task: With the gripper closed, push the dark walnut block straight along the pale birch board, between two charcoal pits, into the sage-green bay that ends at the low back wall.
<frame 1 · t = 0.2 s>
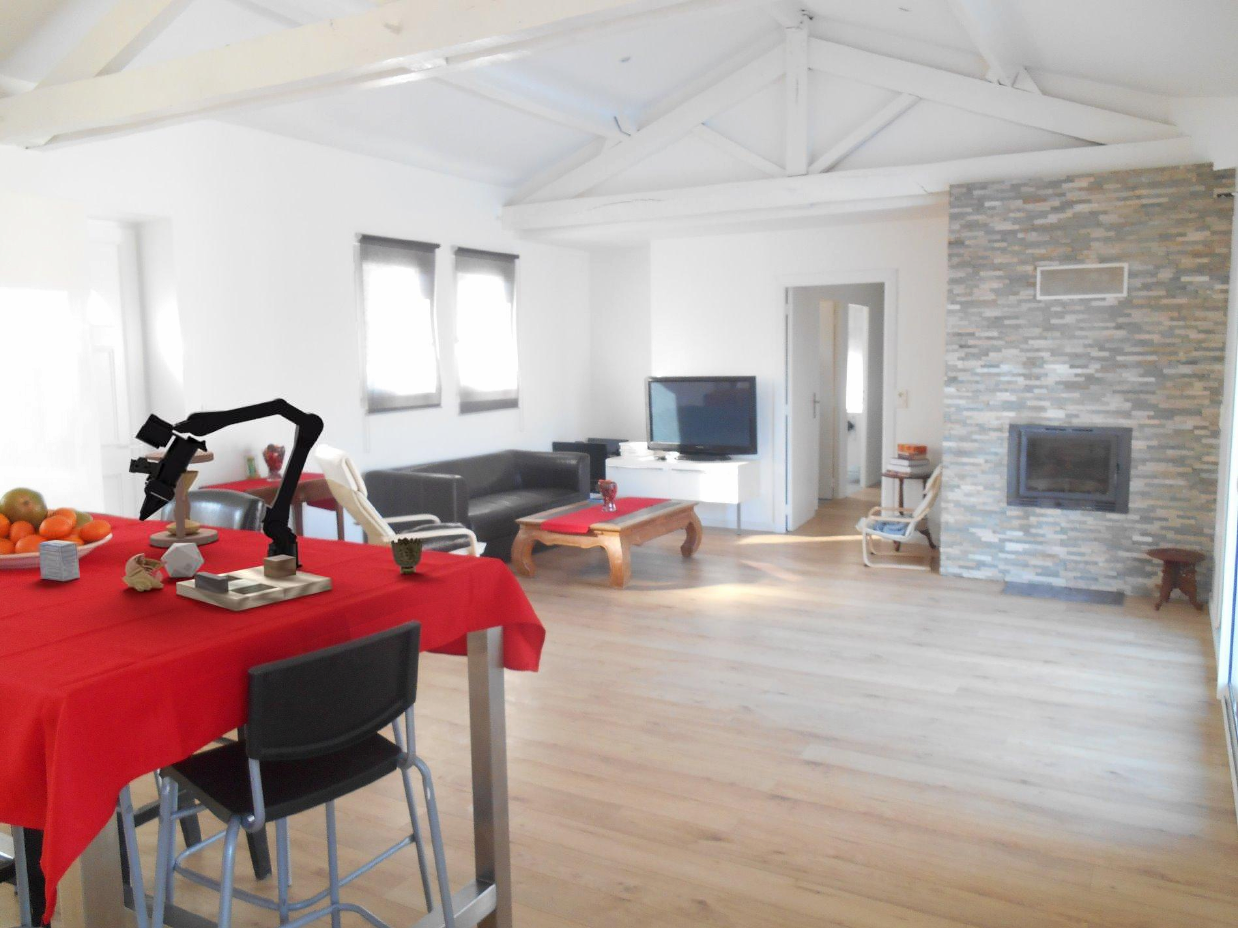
hand: (141, 517, 224), 15 cm above the table, tool tilted 30°, fingers open, 9 cm apart
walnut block: (280, 575, 219), point 2 cm above the table, touching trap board
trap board: (254, 591, 214), on the table
cup: (407, 573, 232), on the table
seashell: (143, 589, 218), on the table
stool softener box: (60, 579, 228), on the table
die: (183, 576, 230), on the table
hourglass: (184, 542, 273), on the table
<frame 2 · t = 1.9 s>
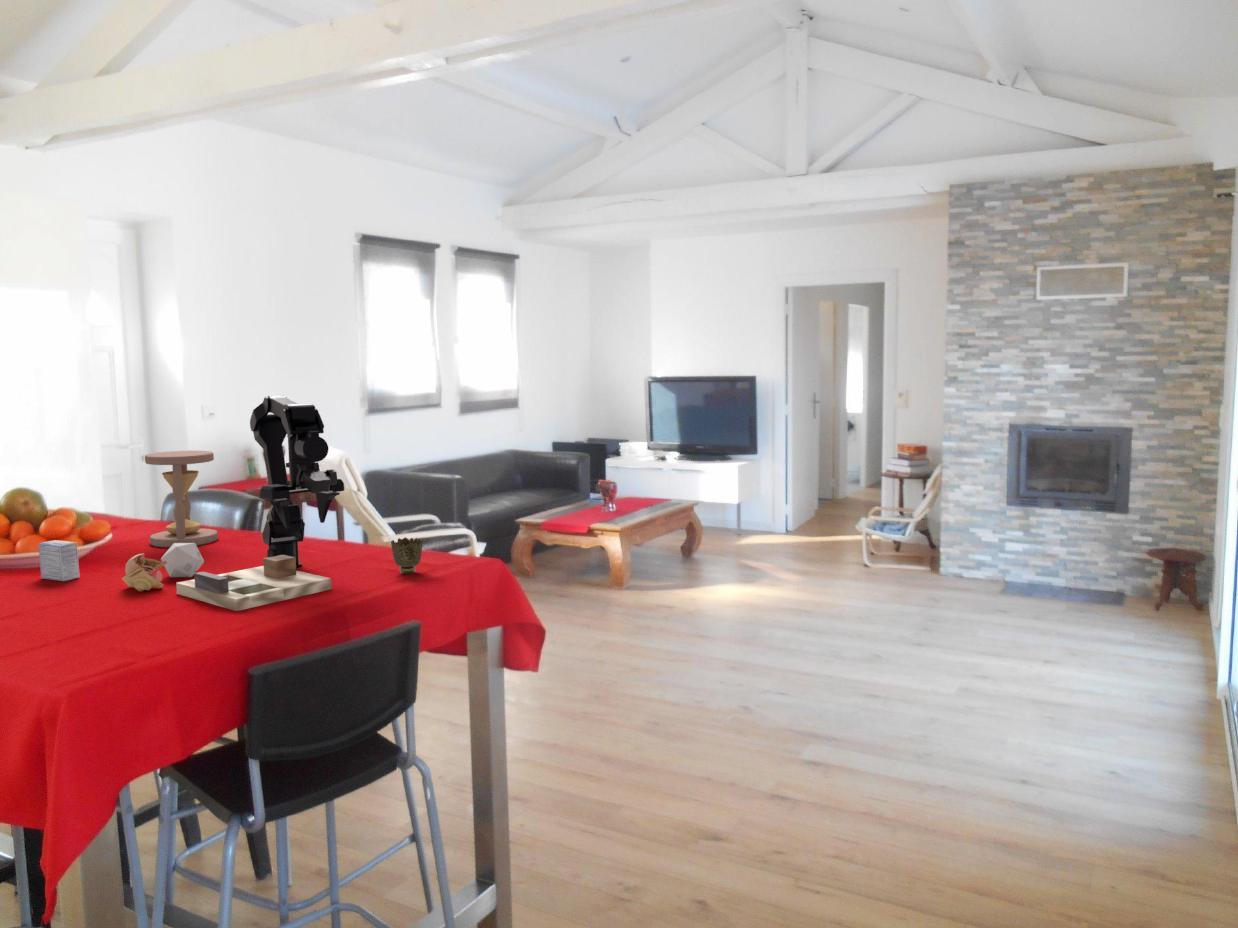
hand: (304, 525, 223), 13 cm above the table, tool pointing down, fingers open, 9 cm apart
nothing on the table moved.
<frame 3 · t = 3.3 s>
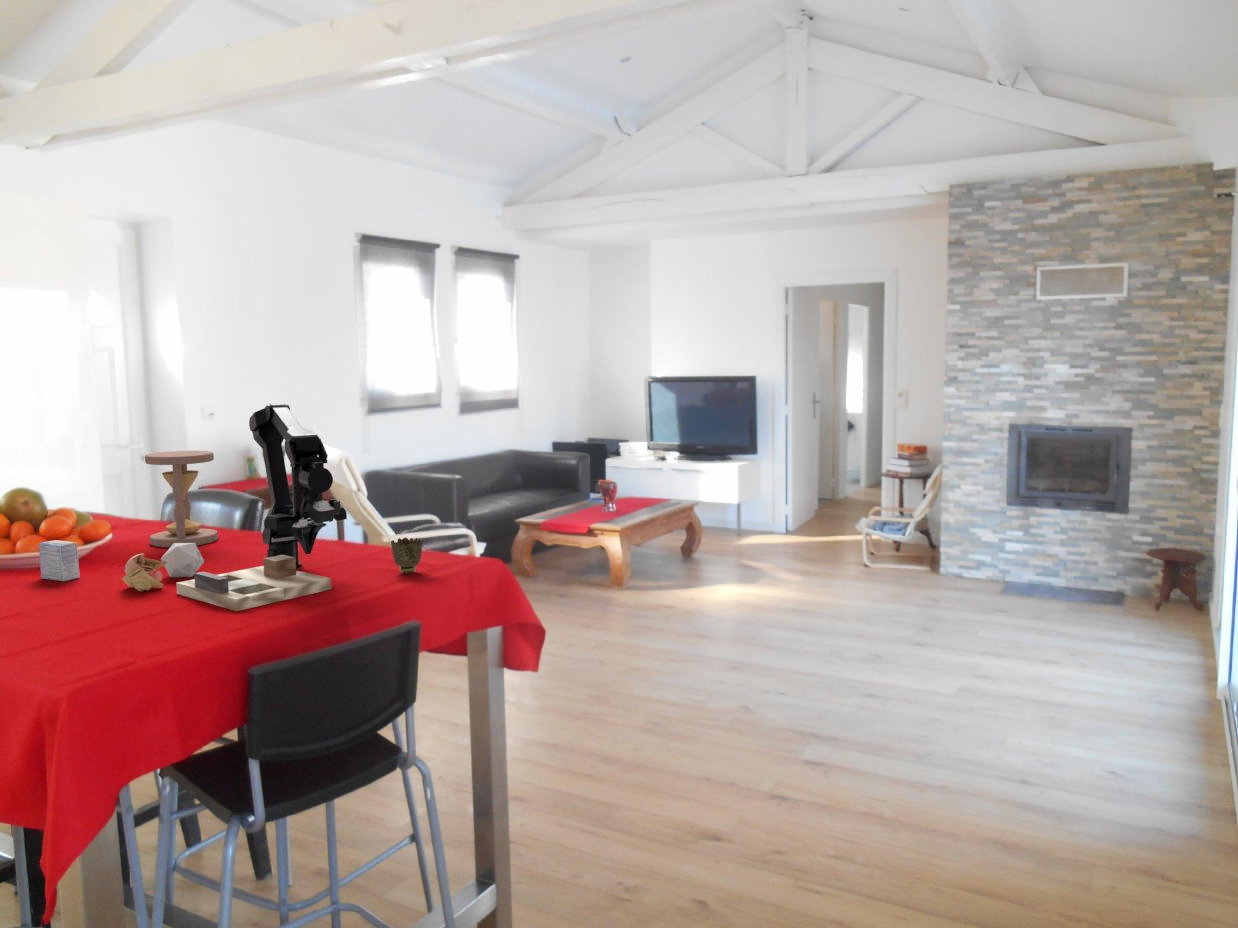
hand: (307, 554, 225), 6 cm above the table, tool pointing down, fingers closed
nothing on the table moved.
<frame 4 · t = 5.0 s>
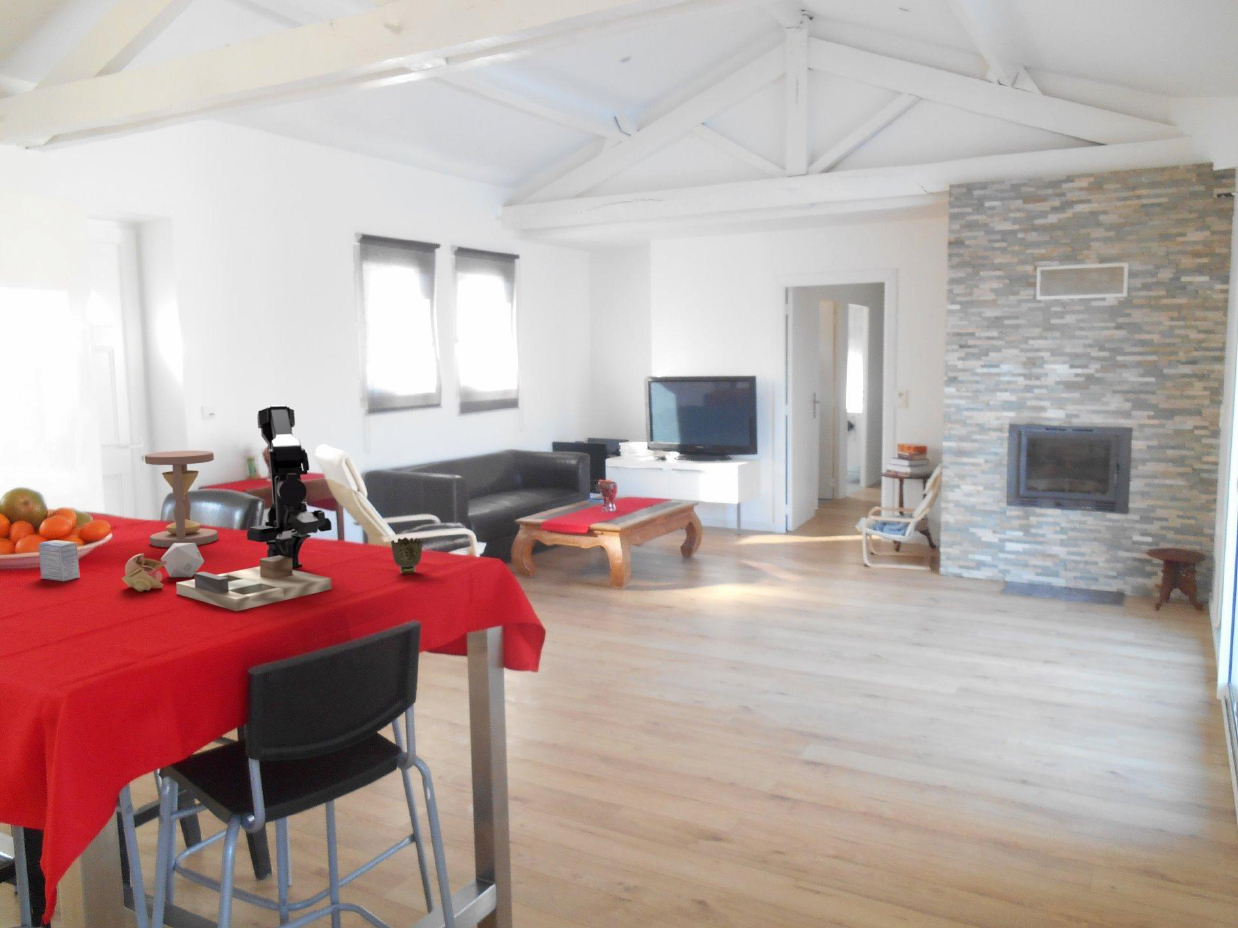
hand: (292, 565, 221), 4 cm above the table, tool pointing down, fingers closed
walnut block: (276, 575, 218), point 3 cm above the table, touching gripper, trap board
everything else where it was.
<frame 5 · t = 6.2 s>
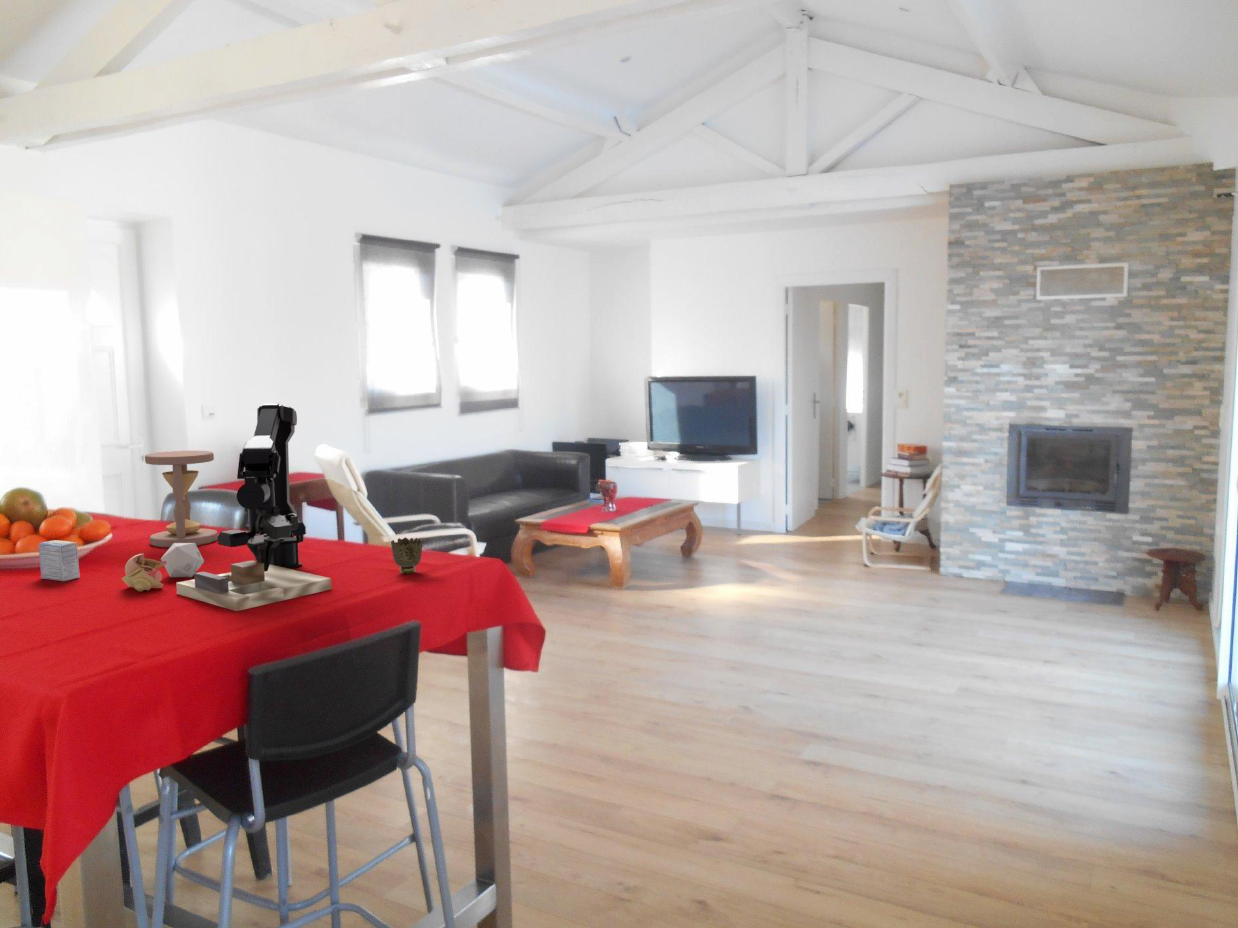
hand: (264, 571, 216), 4 cm above the table, tool pointing down, fingers closed
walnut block: (248, 581, 213), point 3 cm above the table, touching gripper, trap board
everything else where it was.
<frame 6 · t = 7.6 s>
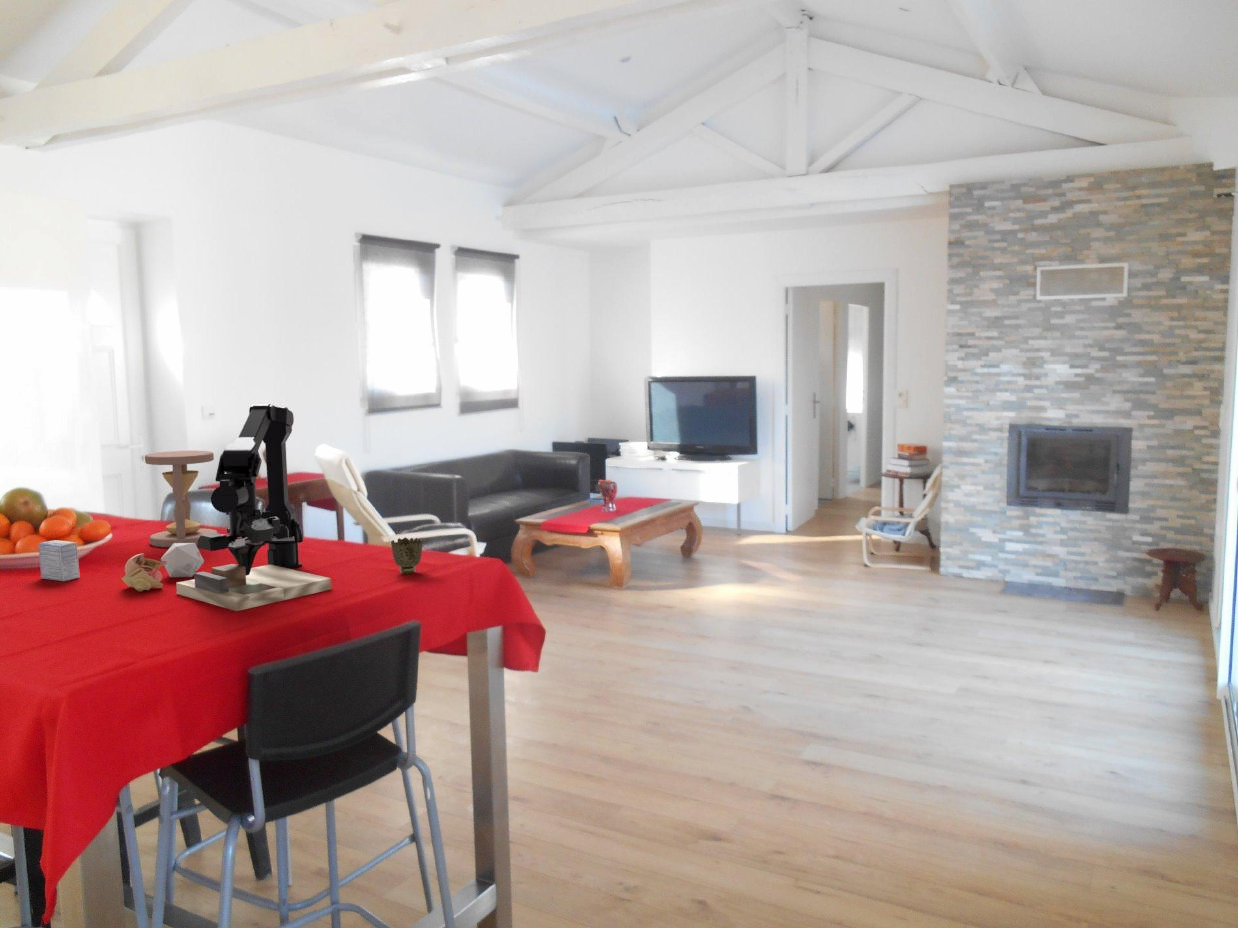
hand: (246, 575, 212), 4 cm above the table, tool pointing down, fingers closed
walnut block: (229, 585, 210), point 2 cm above the table, touching gripper, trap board
everything else where it was.
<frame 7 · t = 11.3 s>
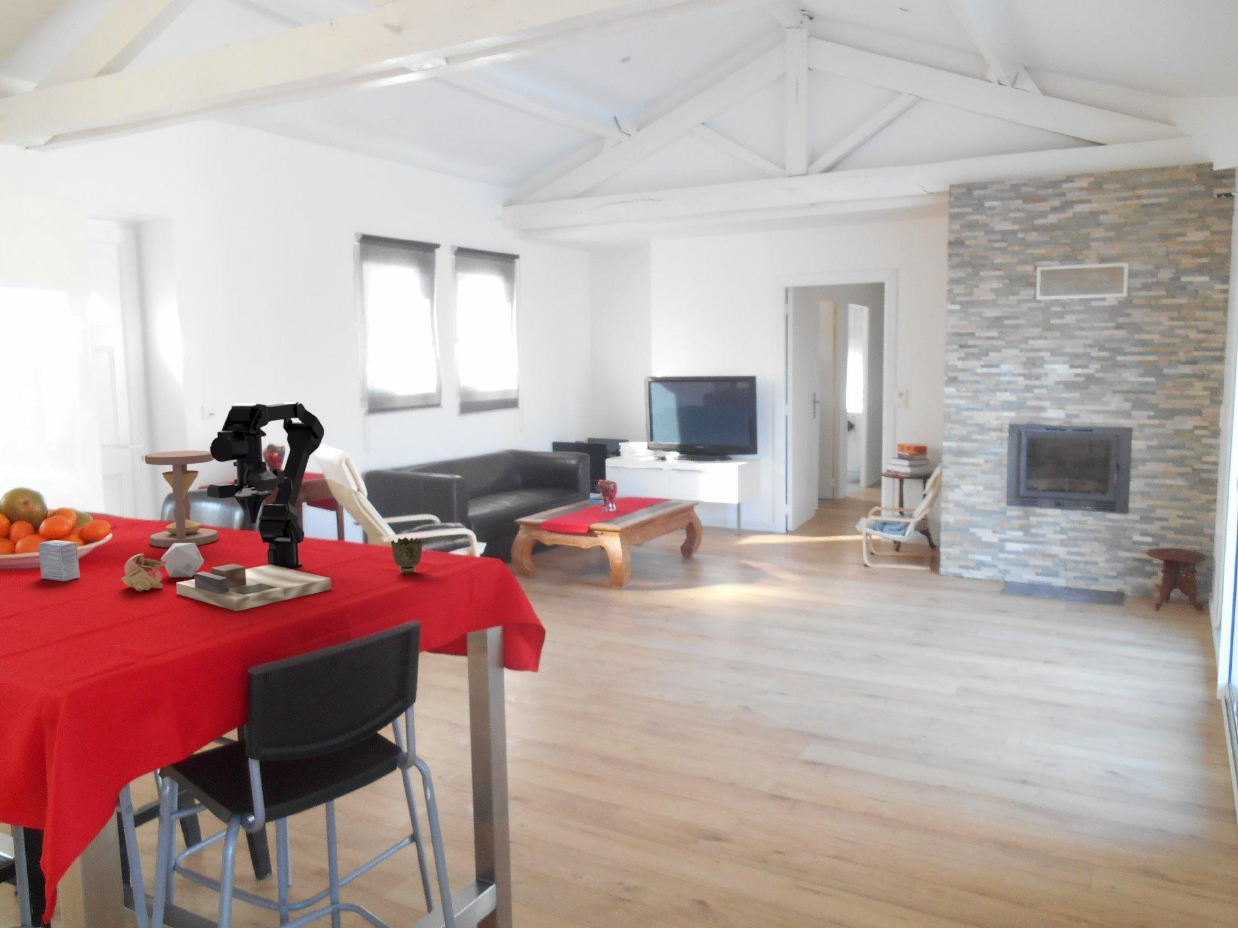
hand: (252, 523, 226), 13 cm above the table, tool pointing down, fingers closed
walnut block: (229, 585, 210), point 2 cm above the table, touching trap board
everything else where it was.
at the end: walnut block 0.4 cm from the target spot on the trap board, point 2.5 cm above the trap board's base; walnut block tilted 0° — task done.
